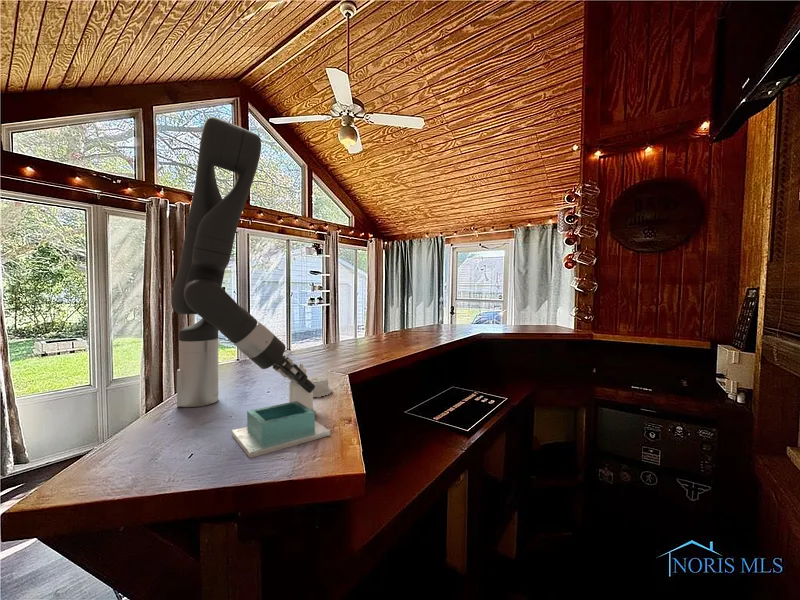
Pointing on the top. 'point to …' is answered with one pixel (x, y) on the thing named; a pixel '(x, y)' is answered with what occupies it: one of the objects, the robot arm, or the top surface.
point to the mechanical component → (320, 386)
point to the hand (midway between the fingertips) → (308, 387)
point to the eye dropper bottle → (300, 392)
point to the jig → (278, 428)
